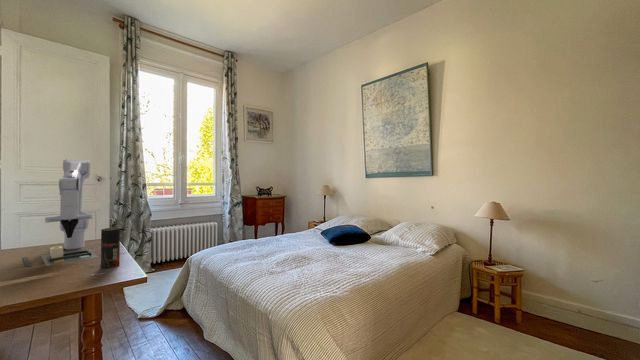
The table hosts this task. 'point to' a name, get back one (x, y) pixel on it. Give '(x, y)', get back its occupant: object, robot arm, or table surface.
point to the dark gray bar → (26, 261)
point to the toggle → (56, 252)
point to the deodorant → (110, 248)
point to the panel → (69, 257)
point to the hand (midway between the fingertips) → (69, 237)
